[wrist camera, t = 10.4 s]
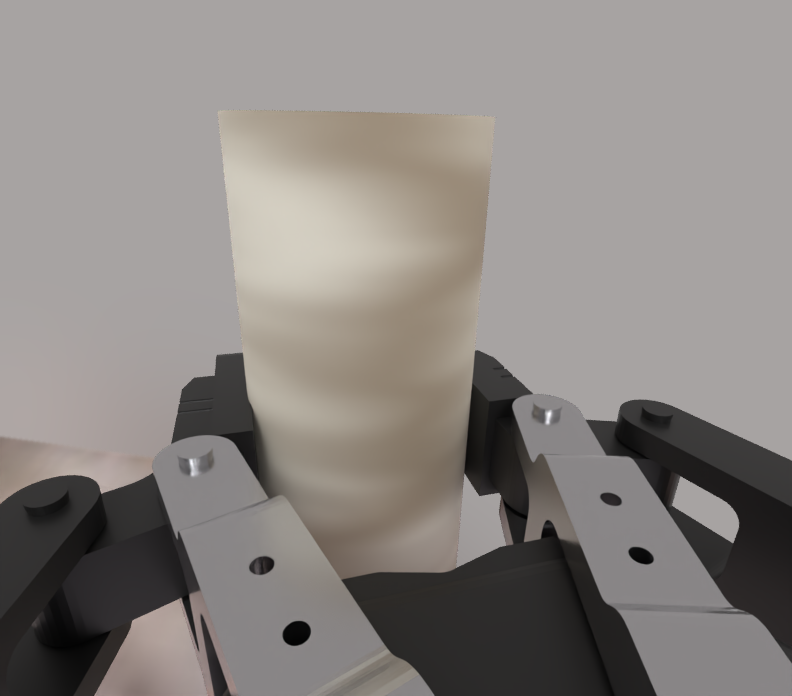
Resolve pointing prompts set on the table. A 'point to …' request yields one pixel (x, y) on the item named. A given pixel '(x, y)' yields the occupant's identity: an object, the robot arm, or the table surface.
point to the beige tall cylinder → (360, 320)
